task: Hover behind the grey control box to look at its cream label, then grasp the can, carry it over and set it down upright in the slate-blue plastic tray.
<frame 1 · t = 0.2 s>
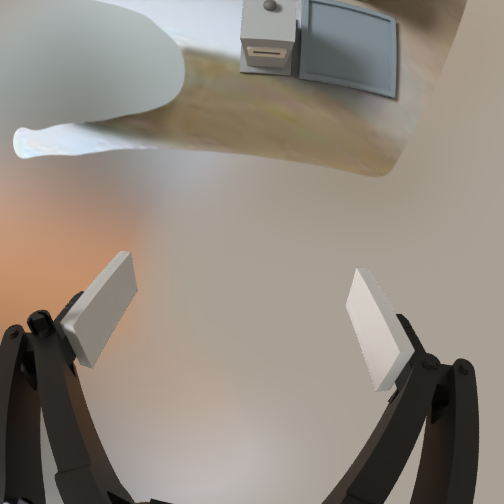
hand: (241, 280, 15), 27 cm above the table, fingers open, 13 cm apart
tray: (349, 44, 29), on the table
control box: (267, 43, 30), on the table
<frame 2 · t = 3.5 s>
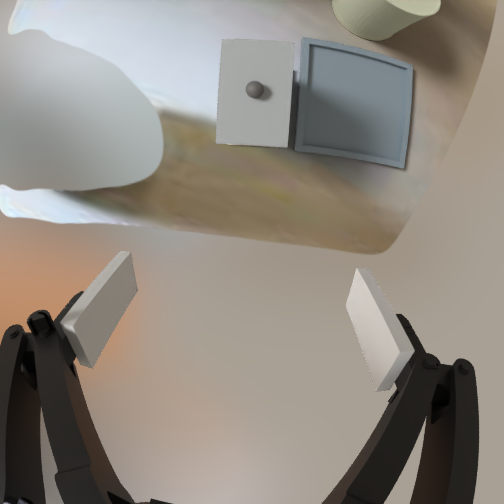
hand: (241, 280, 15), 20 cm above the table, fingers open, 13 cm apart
tray: (356, 102, 28), on the table
can: (365, 12, 21), on the table
control box: (257, 104, 29), on the table
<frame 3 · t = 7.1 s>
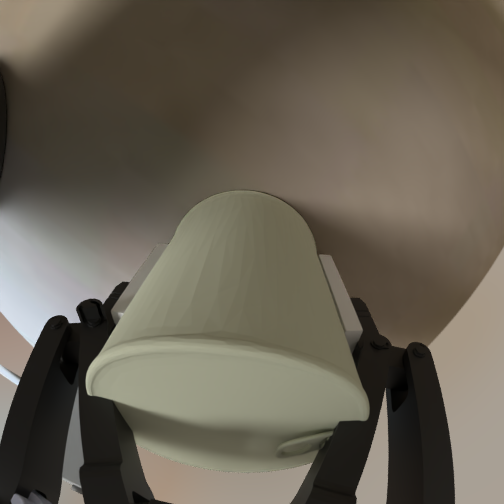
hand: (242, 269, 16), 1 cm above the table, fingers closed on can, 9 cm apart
can: (243, 259, 17), on the table, touching gripper
control box: (119, 379, 25), on the table
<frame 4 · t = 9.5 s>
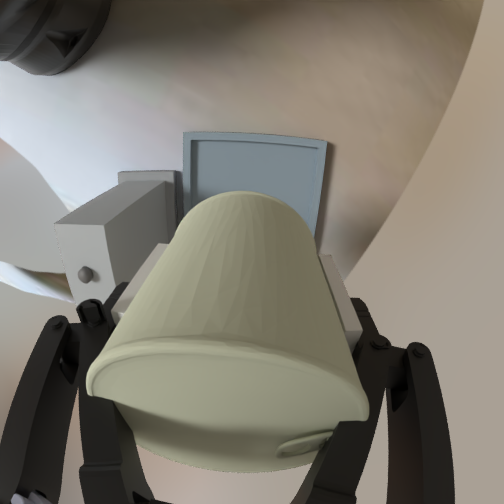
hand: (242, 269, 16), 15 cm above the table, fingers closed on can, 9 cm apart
tray: (251, 199, 30), on the table
can: (243, 260, 17), point 14 cm above the table, touching gripper
control box: (149, 211, 30), on the table
when the fingers open (3 cm above the table, at t = 11.9 s): can drops 2 cm, resting on tray.
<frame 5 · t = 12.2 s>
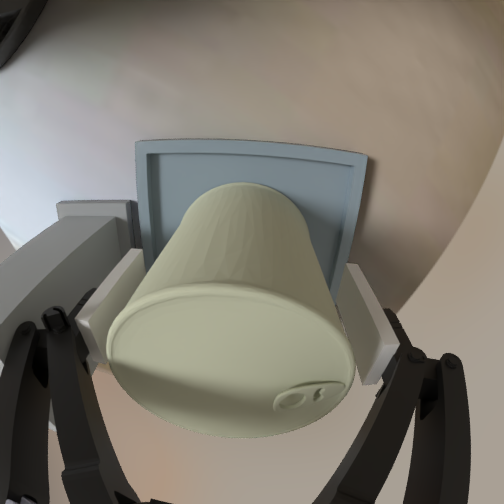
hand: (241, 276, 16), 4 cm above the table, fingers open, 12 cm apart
tray: (244, 244, 19), on the table
can: (243, 246, 19), resting on tray
control box: (101, 257, 20), on the table
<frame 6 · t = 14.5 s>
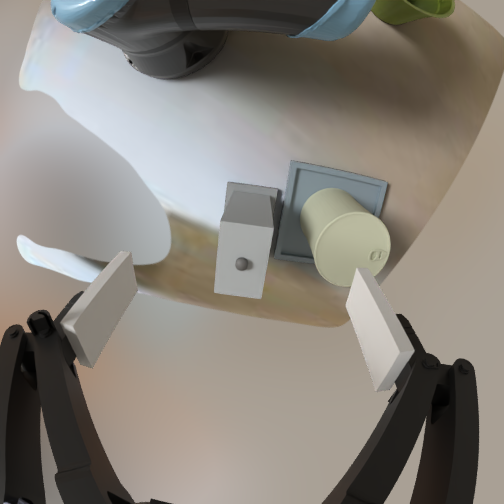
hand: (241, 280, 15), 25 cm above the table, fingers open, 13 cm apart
tray: (330, 217, 39), on the table
can: (330, 217, 39), resting on tray
control box: (248, 218, 40), on the table
plant pot: (385, 7, 24), on the table
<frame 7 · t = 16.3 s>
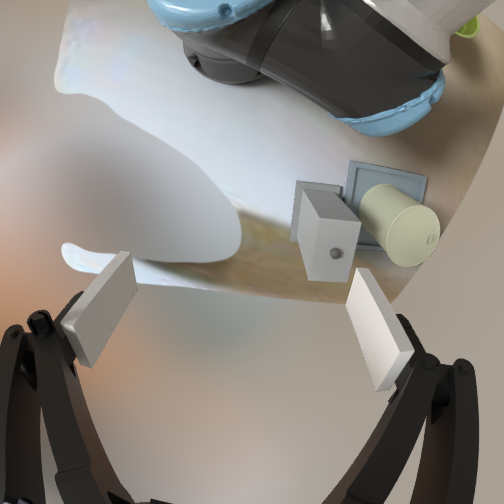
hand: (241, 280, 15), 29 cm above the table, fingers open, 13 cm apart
tray: (382, 209, 42), on the table
can: (382, 209, 42), resting on tray
control box: (314, 212, 43), on the table
plant pot: (416, 19, 25), on the table
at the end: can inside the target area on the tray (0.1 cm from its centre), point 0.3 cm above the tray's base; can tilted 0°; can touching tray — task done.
